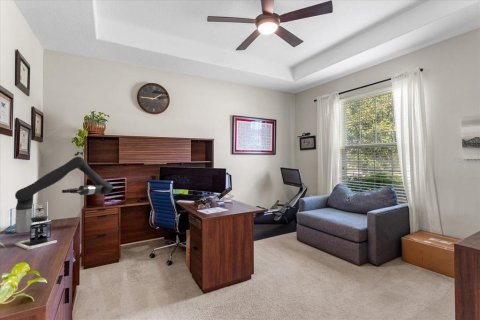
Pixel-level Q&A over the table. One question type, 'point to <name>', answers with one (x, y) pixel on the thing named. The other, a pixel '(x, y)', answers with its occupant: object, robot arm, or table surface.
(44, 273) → the table surface
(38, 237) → the french press
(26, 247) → the bay
